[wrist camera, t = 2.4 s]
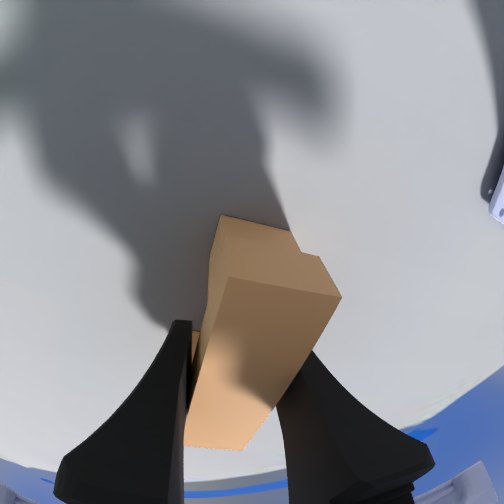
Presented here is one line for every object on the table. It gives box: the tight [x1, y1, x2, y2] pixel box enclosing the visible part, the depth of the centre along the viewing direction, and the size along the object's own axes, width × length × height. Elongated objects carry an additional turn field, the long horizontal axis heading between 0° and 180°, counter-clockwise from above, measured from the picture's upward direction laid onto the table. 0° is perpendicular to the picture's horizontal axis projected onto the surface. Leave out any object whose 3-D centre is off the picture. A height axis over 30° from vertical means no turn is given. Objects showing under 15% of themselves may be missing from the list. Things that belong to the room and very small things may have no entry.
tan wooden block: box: [184, 215, 342, 451], centre depth 11 cm, size 3×9×5 cm, turn 163°
